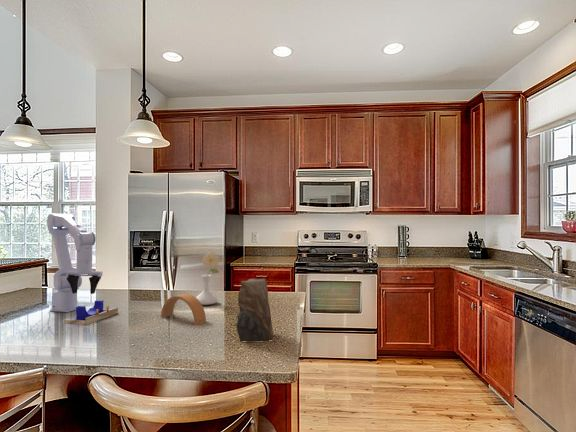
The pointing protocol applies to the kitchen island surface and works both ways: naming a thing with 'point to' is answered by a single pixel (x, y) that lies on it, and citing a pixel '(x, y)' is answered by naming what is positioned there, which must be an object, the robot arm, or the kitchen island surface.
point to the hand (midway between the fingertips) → (83, 293)
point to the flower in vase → (206, 295)
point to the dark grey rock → (254, 311)
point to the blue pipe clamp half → (82, 312)
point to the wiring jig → (94, 316)
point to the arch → (192, 303)
